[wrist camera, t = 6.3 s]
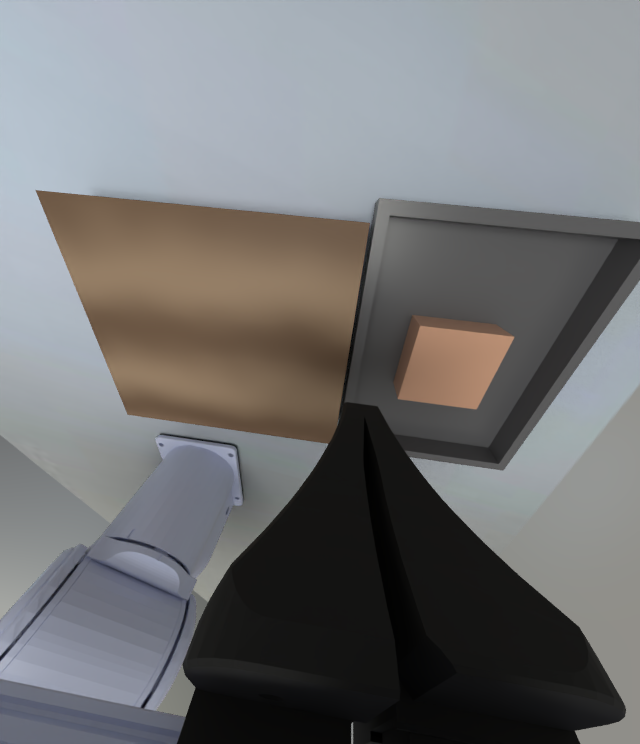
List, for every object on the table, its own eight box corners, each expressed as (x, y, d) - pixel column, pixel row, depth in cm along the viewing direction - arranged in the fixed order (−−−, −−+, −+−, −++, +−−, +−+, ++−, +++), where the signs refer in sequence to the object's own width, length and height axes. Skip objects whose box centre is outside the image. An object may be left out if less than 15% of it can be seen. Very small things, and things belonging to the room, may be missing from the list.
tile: (397, 399, 16) (393, 382, 18) (476, 409, 16) (464, 391, 17) (420, 325, 13) (412, 314, 15) (514, 336, 13) (495, 324, 15)
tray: (489, 448, 20) (503, 470, 19) (338, 426, 21) (336, 446, 19) (628, 226, 12) (678, 225, 10) (375, 202, 13) (379, 198, 11)
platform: (336, 417, 21) (333, 444, 18) (154, 392, 21) (127, 414, 19) (366, 224, 14) (369, 222, 11) (92, 197, 14) (35, 190, 12)
